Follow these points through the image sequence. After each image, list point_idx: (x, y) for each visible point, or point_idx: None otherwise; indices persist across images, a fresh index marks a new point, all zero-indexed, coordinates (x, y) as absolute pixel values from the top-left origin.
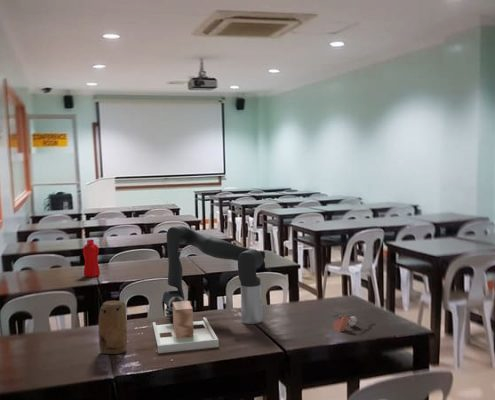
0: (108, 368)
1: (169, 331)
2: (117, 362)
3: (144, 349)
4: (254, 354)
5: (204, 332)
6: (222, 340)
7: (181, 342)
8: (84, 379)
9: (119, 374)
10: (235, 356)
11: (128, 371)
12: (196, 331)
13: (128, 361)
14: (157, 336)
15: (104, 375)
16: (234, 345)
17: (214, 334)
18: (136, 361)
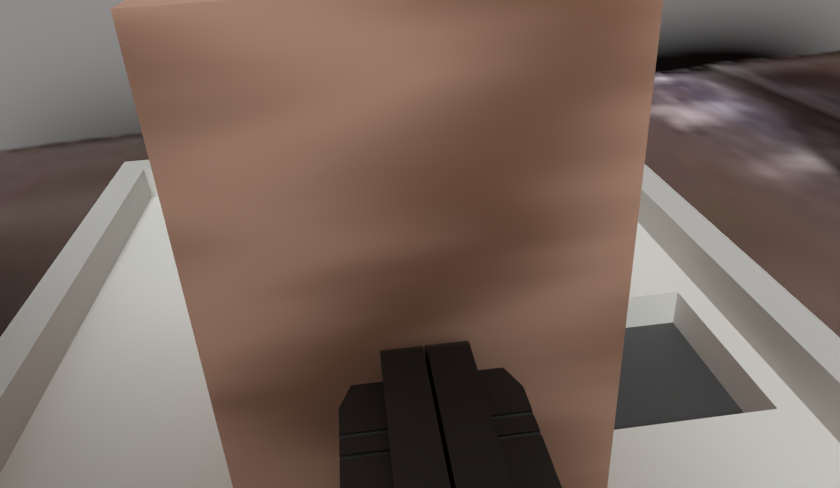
0: (800, 94)
1: (636, 459)
2: (802, 121)
3: (738, 214)
4: (4, 152)
5: (118, 371)
6: (26, 298)
7: None
8: (834, 59)
9: (699, 74)
10: (118, 143)
11: (671, 83)
12: (206, 414)
13: (739, 125)
14: (684, 216)
15: (766, 70)
16: (11, 227)
17: (91, 220)
18: (688, 125)
